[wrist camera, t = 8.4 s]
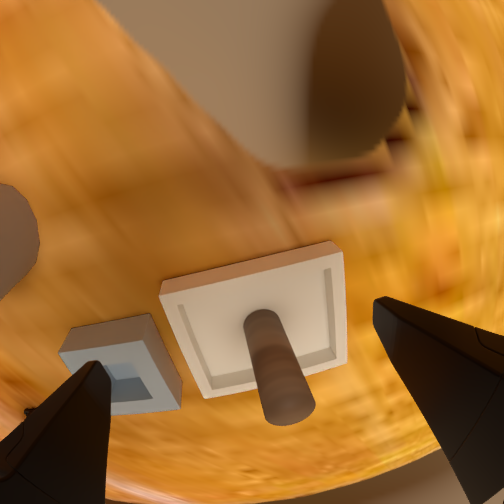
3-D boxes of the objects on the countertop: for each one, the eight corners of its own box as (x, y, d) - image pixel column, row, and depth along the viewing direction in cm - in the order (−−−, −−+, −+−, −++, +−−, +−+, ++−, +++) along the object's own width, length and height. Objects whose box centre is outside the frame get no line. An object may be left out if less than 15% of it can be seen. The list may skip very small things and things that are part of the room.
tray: (338, 347, 27) (347, 363, 24) (204, 381, 26) (204, 398, 24) (330, 240, 22) (342, 251, 20) (162, 280, 22) (158, 296, 20)
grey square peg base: (182, 381, 26) (180, 408, 22) (110, 390, 25) (103, 415, 22) (150, 313, 23) (142, 339, 19) (71, 328, 22) (57, 352, 19)
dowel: (282, 333, 24) (316, 416, 16) (247, 343, 24) (269, 430, 16) (276, 304, 23) (313, 388, 15) (239, 314, 23) (260, 403, 15)
